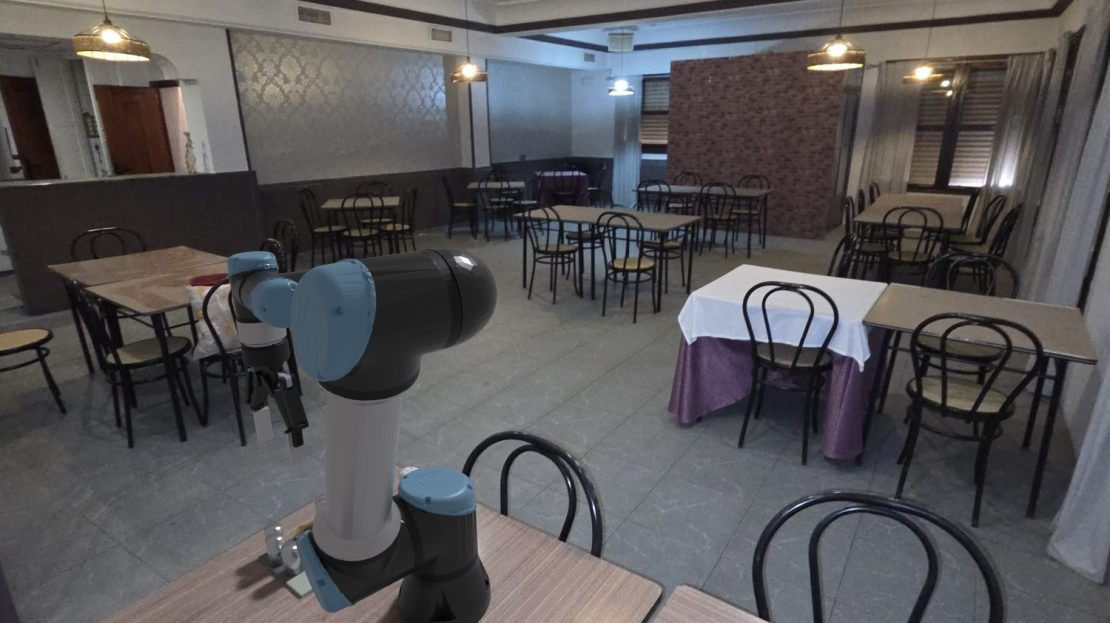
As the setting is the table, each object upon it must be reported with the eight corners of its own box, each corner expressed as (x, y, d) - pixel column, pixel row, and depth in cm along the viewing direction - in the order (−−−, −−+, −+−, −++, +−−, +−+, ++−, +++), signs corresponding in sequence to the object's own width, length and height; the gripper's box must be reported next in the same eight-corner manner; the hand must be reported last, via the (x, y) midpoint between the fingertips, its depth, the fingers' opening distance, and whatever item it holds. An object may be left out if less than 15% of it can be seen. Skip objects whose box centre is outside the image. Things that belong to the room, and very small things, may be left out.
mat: (381, 546, 110) (381, 544, 110) (302, 597, 98) (301, 594, 98) (336, 516, 119) (336, 513, 119) (258, 559, 107) (258, 557, 107)
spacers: (363, 534, 113) (360, 512, 111) (287, 580, 101) (283, 556, 100) (332, 514, 119) (329, 493, 118) (257, 555, 108) (253, 532, 106)
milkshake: (422, 516, 119) (418, 473, 116) (397, 513, 120) (393, 470, 117) (431, 503, 123) (427, 461, 120) (407, 500, 124) (403, 459, 121)
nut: (333, 539, 112) (331, 526, 111) (313, 556, 107) (311, 542, 106) (310, 532, 114) (308, 518, 113) (290, 548, 109) (287, 534, 108)
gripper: (320, 348, 99) (335, 462, 105) (253, 321, 112) (269, 424, 119) (277, 361, 93) (295, 481, 99) (212, 331, 107) (231, 438, 113)
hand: (281, 450), depth 109 cm, fingers open, 11 cm apart
